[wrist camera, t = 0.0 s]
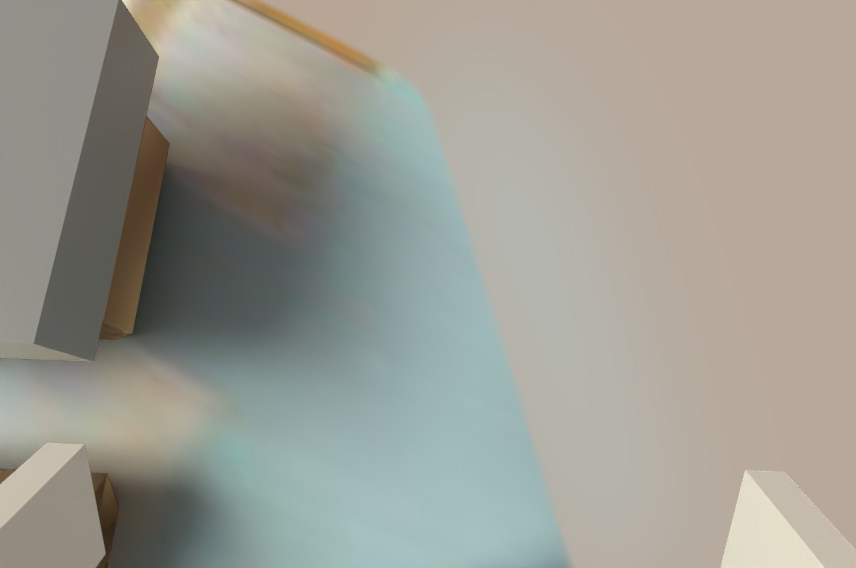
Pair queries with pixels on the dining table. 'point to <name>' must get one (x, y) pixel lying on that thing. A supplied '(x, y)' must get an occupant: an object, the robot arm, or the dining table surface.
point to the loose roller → (104, 506)
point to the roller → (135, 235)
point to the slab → (65, 166)
